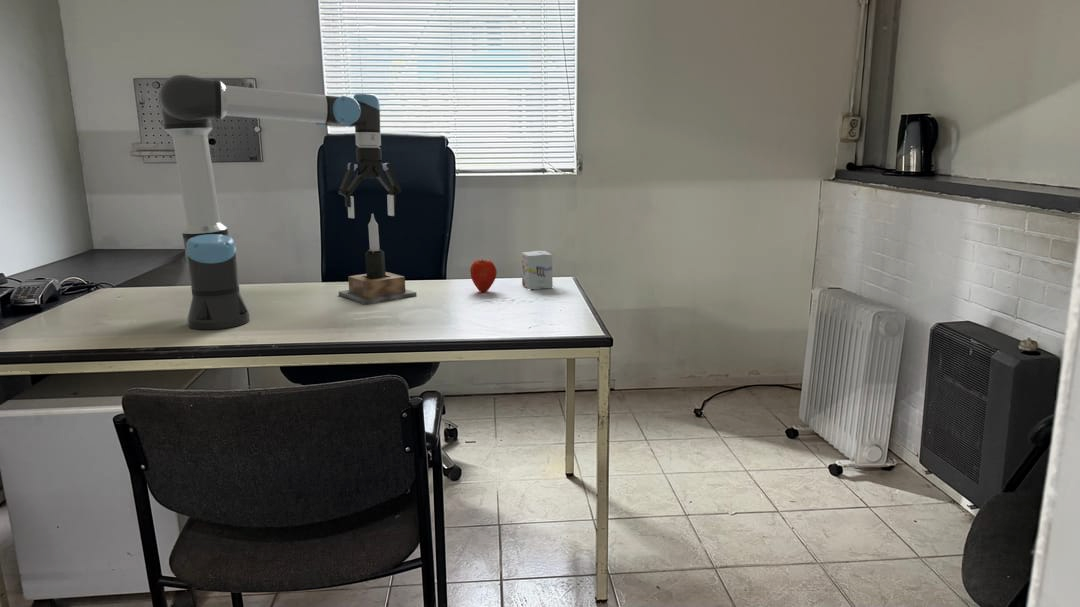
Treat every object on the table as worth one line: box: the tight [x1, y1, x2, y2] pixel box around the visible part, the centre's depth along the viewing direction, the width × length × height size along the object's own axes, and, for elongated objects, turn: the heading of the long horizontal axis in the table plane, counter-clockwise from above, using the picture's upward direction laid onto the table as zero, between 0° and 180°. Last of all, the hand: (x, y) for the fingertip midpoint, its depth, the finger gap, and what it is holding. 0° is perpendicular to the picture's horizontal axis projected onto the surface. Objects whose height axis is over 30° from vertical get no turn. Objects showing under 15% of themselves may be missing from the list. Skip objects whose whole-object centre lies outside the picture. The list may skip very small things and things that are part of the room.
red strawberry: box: [469, 258, 498, 293], centre depth 223 cm, size 9×8×11 cm
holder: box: [338, 271, 418, 305], centre depth 219 cm, size 18×18×6 cm
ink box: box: [521, 250, 554, 290], centre depth 230 cm, size 9×9×12 cm
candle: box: [364, 213, 386, 279], centre depth 216 cm, size 5×5×25 cm
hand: (371, 216), depth 213 cm, fingers open, 13 cm apart
